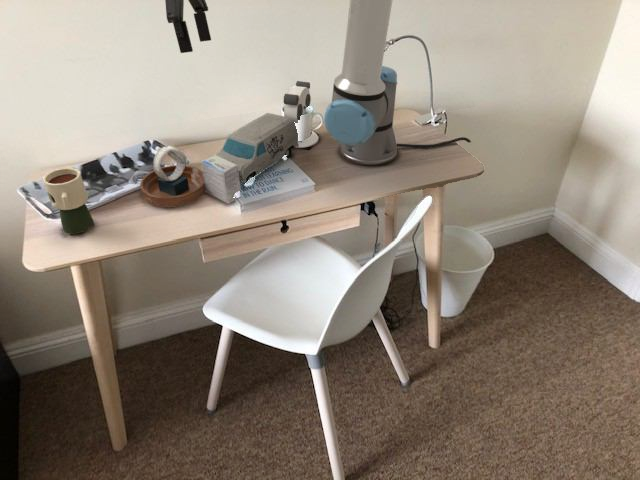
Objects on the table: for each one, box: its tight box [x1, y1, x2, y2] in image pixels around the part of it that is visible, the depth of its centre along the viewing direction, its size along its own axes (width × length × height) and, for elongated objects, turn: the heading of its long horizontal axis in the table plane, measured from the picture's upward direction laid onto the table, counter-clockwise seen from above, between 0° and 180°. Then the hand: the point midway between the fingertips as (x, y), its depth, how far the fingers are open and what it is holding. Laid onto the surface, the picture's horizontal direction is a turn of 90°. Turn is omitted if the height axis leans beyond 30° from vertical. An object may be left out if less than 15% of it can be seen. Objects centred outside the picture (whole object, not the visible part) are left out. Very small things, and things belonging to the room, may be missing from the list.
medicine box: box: [201, 154, 242, 205], centre depth 121 cm, size 8×4×9 cm, turn 50°
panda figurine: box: [283, 80, 319, 149], centre depth 143 cm, size 12×11×15 cm
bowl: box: [139, 164, 207, 208], centre depth 124 cm, size 15×15×3 cm
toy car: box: [215, 112, 299, 184], centre depth 133 cm, size 11×25×10 cm, turn 149°
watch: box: [152, 145, 189, 196], centre depth 122 cm, size 6×8×11 cm
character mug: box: [42, 167, 95, 235], centre depth 109 cm, size 11×7×13 cm, turn 20°
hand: (196, 46), depth 125 cm, fingers open, 13 cm apart
